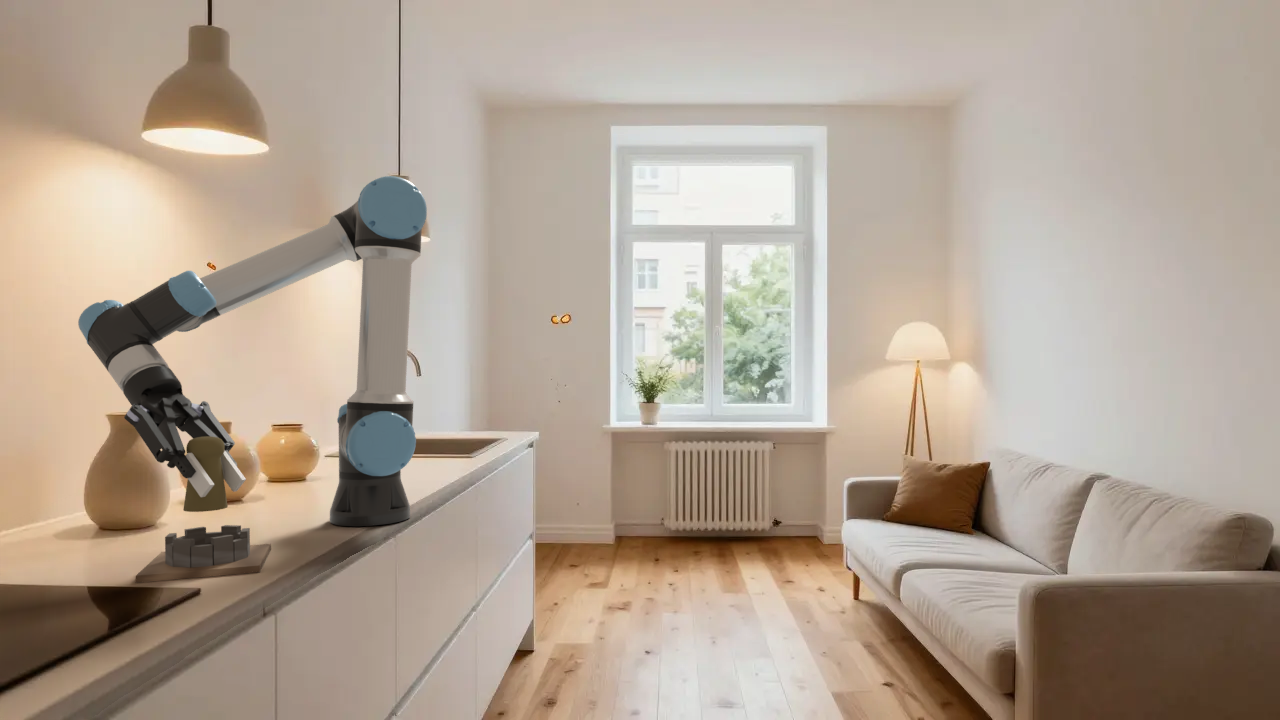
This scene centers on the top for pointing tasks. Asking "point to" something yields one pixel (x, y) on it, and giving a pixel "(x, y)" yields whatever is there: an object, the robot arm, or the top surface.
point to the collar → (206, 555)
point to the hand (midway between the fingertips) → (223, 487)
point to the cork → (210, 459)
